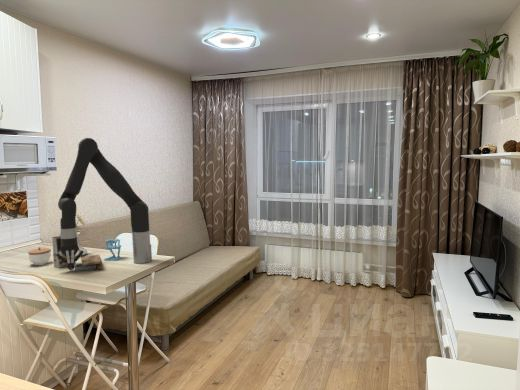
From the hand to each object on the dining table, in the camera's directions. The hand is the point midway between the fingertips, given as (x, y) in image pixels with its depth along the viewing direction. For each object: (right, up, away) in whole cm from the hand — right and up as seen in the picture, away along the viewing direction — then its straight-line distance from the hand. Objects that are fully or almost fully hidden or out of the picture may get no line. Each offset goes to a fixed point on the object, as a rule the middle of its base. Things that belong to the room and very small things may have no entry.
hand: (71, 269), depth 188 cm
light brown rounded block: (+8, 0, +5) cm, 10 cm away
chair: (+13, +2, +22) cm, 26 cm away
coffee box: (-9, 0, +11) cm, 14 cm away
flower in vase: (-13, +2, +32) cm, 35 cm away
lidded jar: (-25, 0, +15) cm, 29 cm away
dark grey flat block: (+6, 0, +3) cm, 7 cm away
